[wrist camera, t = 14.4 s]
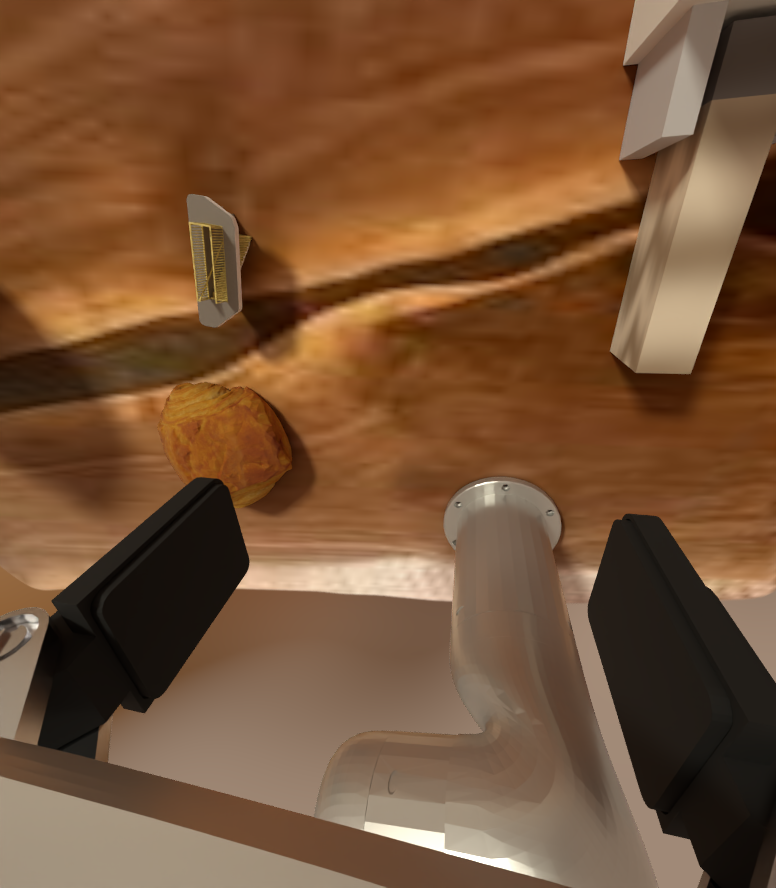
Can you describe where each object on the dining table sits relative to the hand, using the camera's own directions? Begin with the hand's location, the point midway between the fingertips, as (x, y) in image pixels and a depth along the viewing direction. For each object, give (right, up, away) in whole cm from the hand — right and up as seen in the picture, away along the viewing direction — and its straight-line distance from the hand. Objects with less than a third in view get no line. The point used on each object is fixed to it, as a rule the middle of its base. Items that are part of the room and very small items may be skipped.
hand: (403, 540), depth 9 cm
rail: (+20, +18, +18) cm, 33 cm away
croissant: (-18, +3, +36) cm, 40 cm away
